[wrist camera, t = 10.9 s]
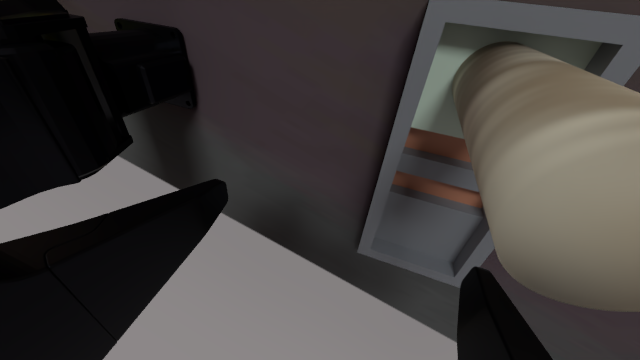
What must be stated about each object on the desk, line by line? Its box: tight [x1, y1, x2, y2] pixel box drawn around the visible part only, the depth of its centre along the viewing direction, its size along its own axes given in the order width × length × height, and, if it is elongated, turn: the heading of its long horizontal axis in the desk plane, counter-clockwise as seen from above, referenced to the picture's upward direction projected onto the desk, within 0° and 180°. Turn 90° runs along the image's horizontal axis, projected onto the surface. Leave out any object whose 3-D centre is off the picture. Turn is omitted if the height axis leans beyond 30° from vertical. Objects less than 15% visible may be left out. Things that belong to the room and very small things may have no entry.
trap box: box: [357, 0, 640, 288], centre depth 17 cm, size 9×19×3 cm, turn 175°
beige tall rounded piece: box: [452, 41, 640, 312], centre depth 9 cm, size 4×4×12 cm
